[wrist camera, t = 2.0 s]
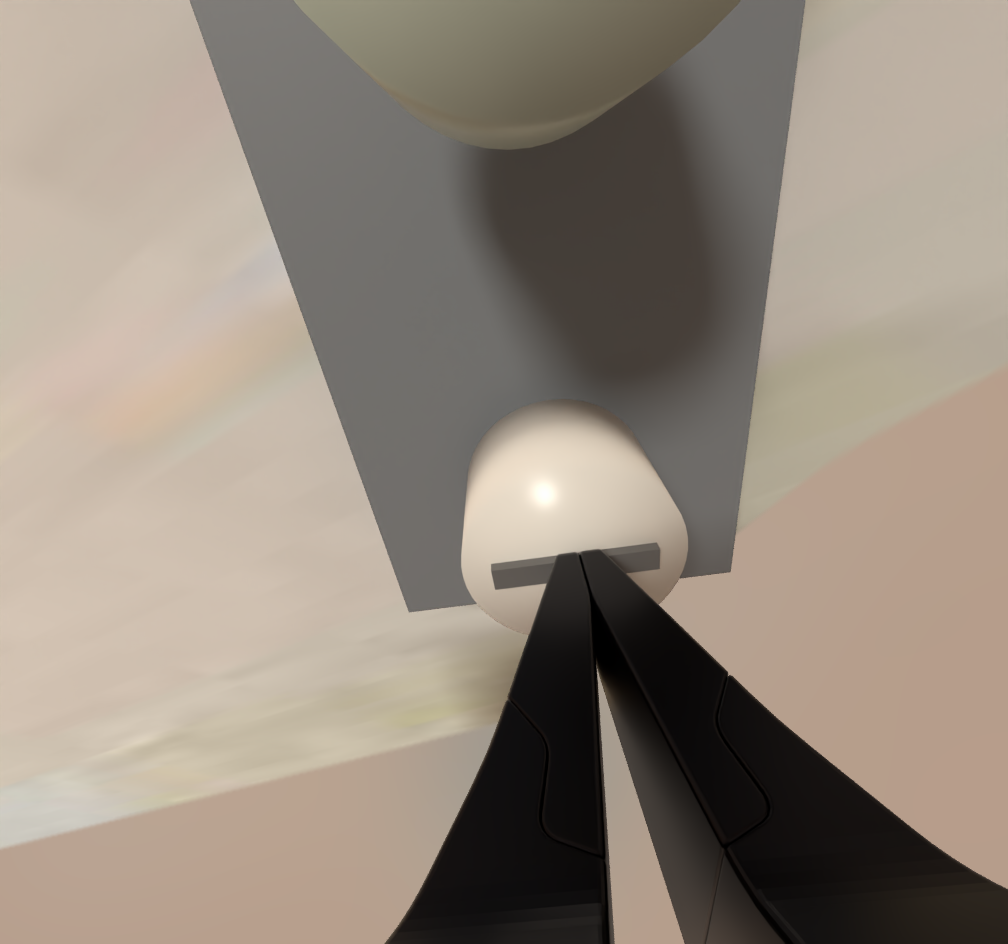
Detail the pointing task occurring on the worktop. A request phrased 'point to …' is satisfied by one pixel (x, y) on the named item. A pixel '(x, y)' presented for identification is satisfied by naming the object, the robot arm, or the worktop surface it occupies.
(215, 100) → the worktop surface
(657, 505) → the knob
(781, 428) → the worktop surface
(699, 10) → the knob centre
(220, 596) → the worktop surface
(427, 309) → the knob mount
